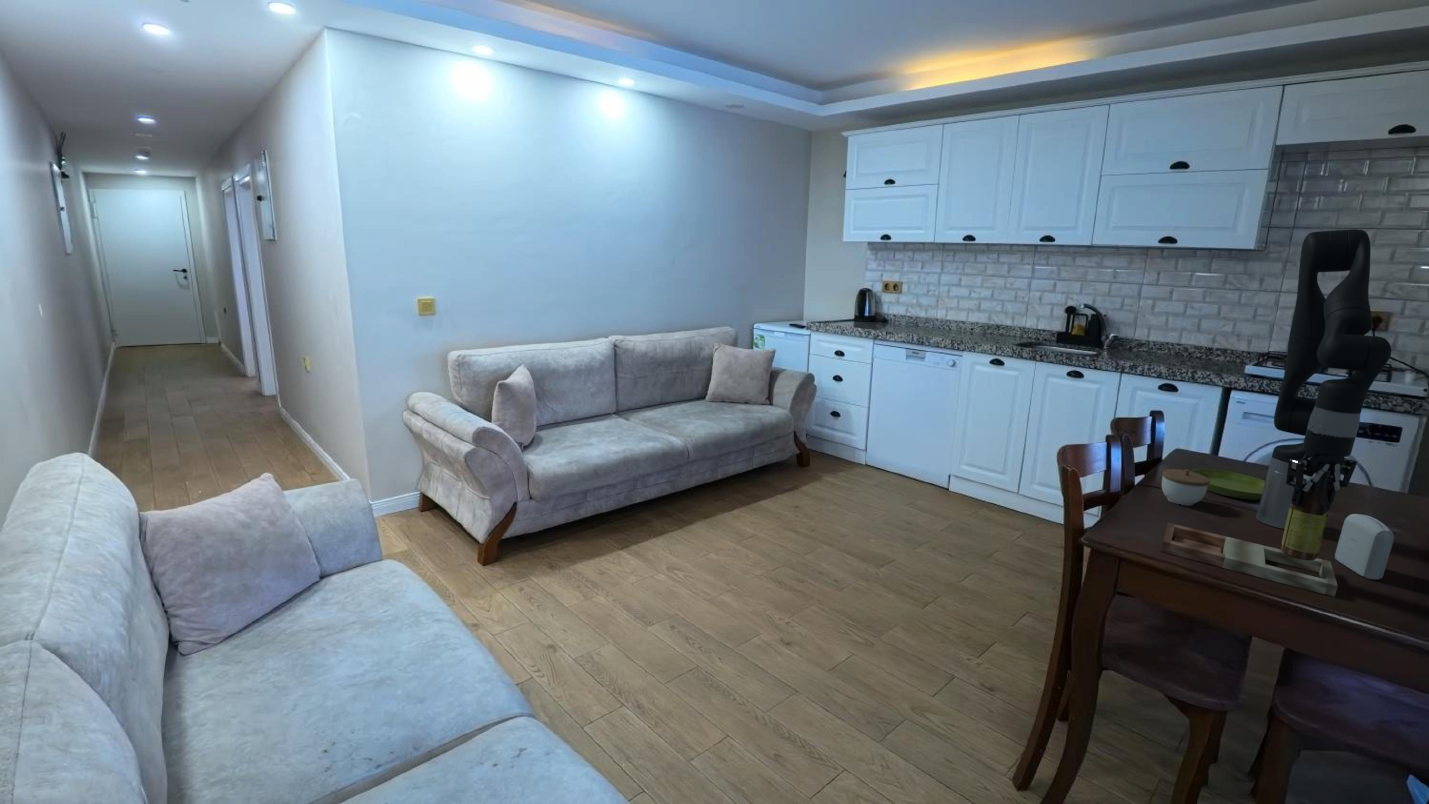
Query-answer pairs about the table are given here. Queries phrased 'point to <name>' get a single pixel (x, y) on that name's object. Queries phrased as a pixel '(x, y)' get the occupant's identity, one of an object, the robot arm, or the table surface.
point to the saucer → (1233, 484)
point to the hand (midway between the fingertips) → (1310, 505)
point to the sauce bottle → (1307, 522)
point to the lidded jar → (1184, 486)
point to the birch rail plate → (1248, 558)
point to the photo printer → (1364, 545)
